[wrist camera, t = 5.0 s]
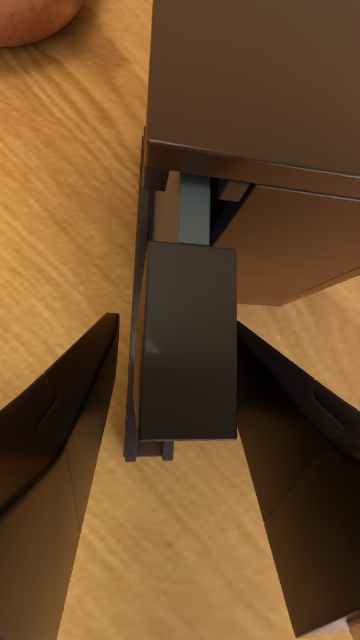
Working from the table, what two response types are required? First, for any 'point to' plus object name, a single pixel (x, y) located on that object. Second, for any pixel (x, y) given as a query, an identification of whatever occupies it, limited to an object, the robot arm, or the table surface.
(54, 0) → the ceramic jug
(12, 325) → the table surface
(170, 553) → the table surface
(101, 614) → the table surface
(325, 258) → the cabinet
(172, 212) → the door
